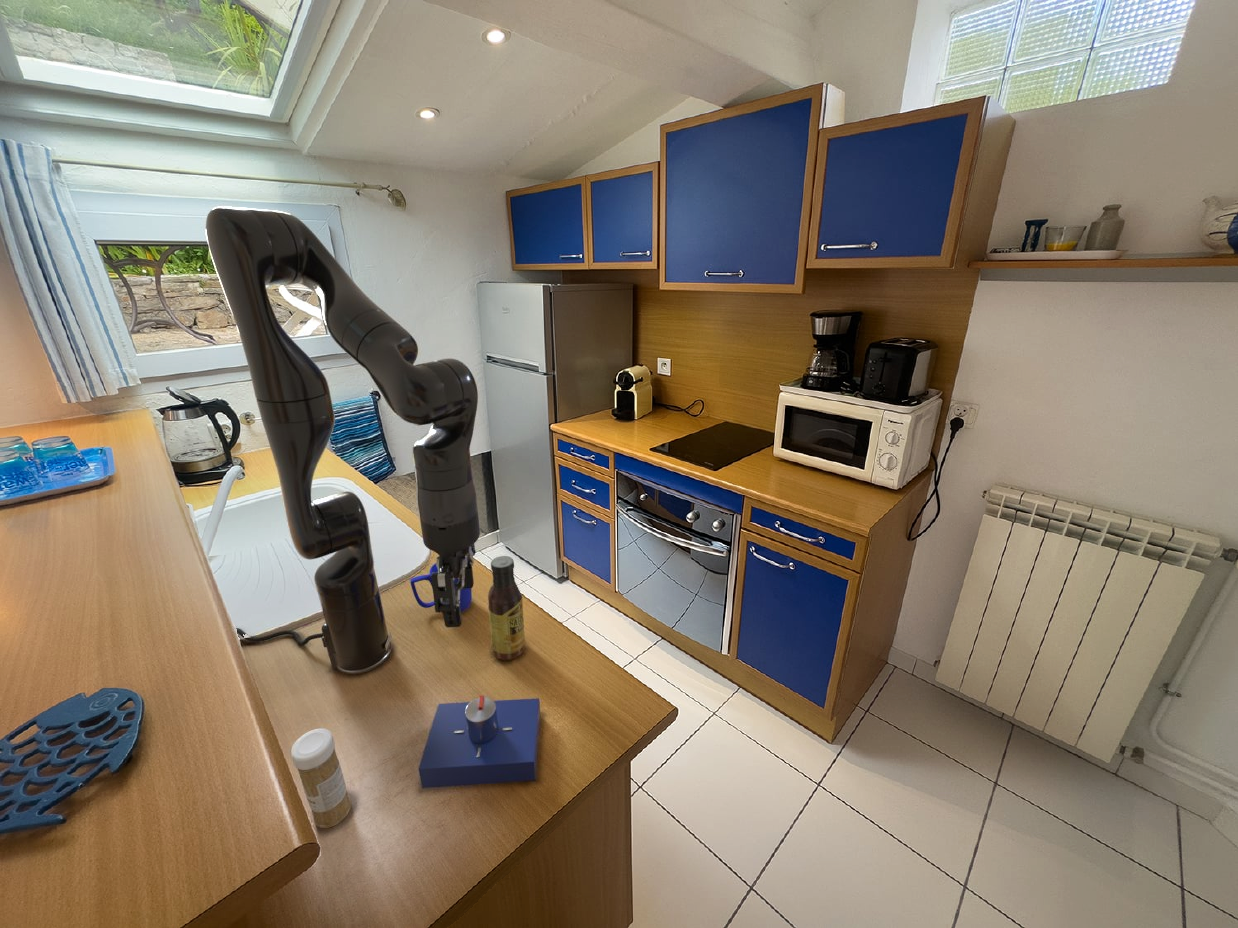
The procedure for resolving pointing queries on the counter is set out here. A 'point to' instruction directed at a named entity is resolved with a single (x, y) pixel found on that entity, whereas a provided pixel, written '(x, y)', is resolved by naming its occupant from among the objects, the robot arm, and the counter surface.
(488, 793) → the counter surface
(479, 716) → the silver pointer knob
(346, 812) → the sprinkles bottle
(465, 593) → the mug
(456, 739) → the blue knob base block
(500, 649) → the sauce bottle
